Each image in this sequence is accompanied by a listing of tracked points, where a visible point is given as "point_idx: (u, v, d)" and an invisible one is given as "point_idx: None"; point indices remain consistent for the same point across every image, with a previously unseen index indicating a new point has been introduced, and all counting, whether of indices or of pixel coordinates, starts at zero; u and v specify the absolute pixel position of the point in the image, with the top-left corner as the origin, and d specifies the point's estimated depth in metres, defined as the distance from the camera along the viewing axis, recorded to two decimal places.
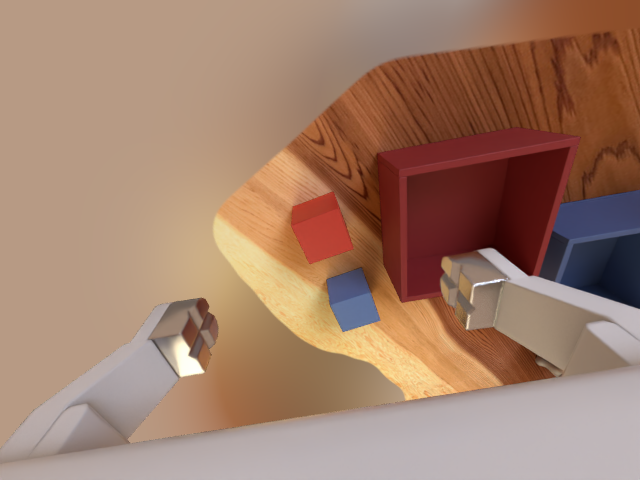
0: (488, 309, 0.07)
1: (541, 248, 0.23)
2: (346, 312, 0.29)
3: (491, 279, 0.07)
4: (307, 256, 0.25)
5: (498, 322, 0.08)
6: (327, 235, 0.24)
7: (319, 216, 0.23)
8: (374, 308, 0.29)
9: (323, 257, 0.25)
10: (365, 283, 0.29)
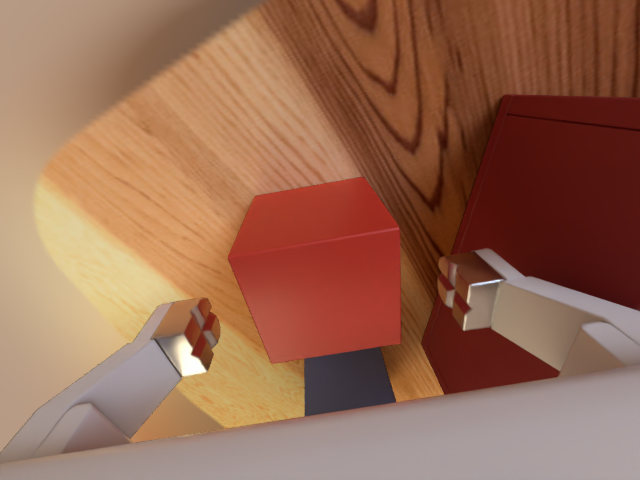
0: (485, 309, 0.07)
1: None
2: None
3: (488, 280, 0.07)
4: (268, 346, 0.08)
5: (495, 322, 0.08)
6: (339, 301, 0.08)
7: (329, 245, 0.07)
8: None
9: (313, 353, 0.09)
10: (390, 393, 0.13)
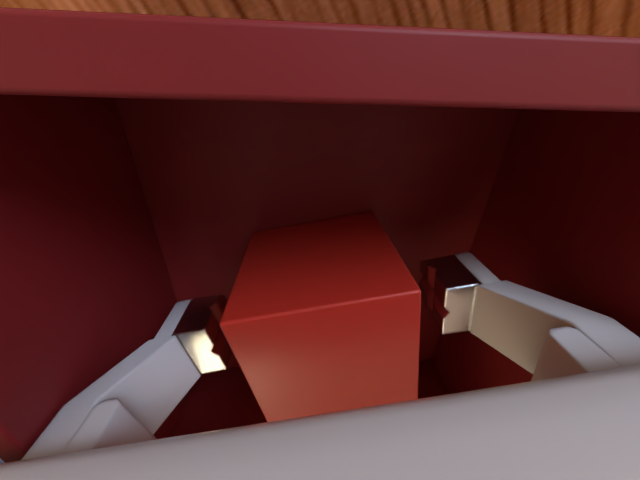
0: (462, 313, 0.07)
1: None
2: None
3: (464, 283, 0.07)
4: (266, 412, 0.07)
5: (473, 325, 0.08)
6: (349, 366, 0.07)
7: (338, 309, 0.06)
8: None
9: None
10: None
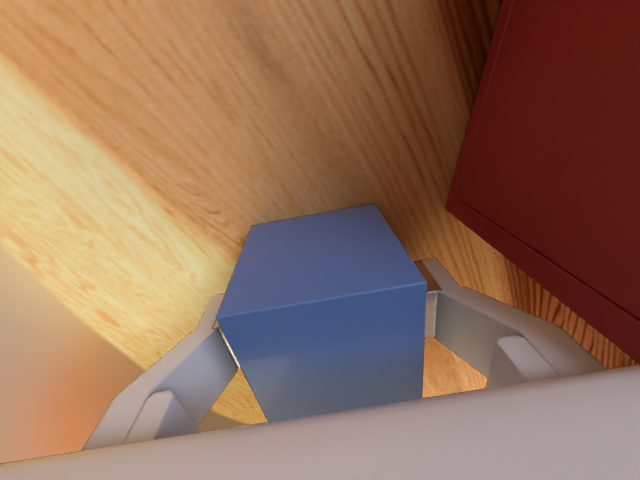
0: (426, 319, 0.07)
1: None
2: (295, 361, 0.06)
3: None
4: None
5: (438, 332, 0.08)
6: None
7: None
8: (418, 360, 0.07)
9: None
10: (395, 245, 0.07)
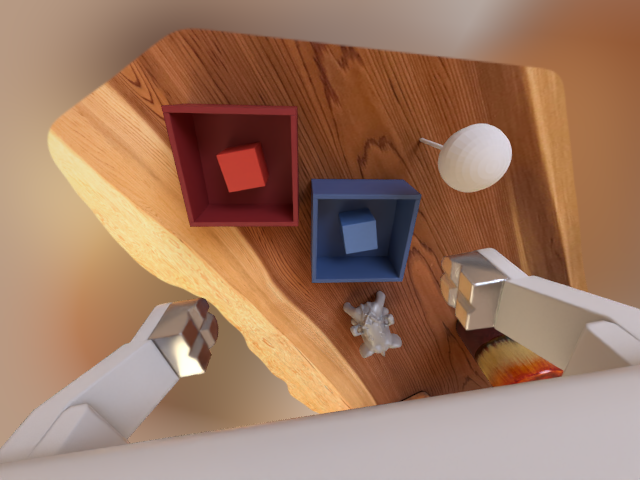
0: (488, 309, 0.07)
1: (293, 198, 0.31)
2: (353, 235, 0.36)
3: (491, 279, 0.07)
4: (227, 185, 0.31)
5: (498, 322, 0.08)
6: (244, 169, 0.30)
7: (239, 152, 0.30)
8: (375, 236, 0.36)
9: (240, 188, 0.32)
10: (371, 215, 0.36)
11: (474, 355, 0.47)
